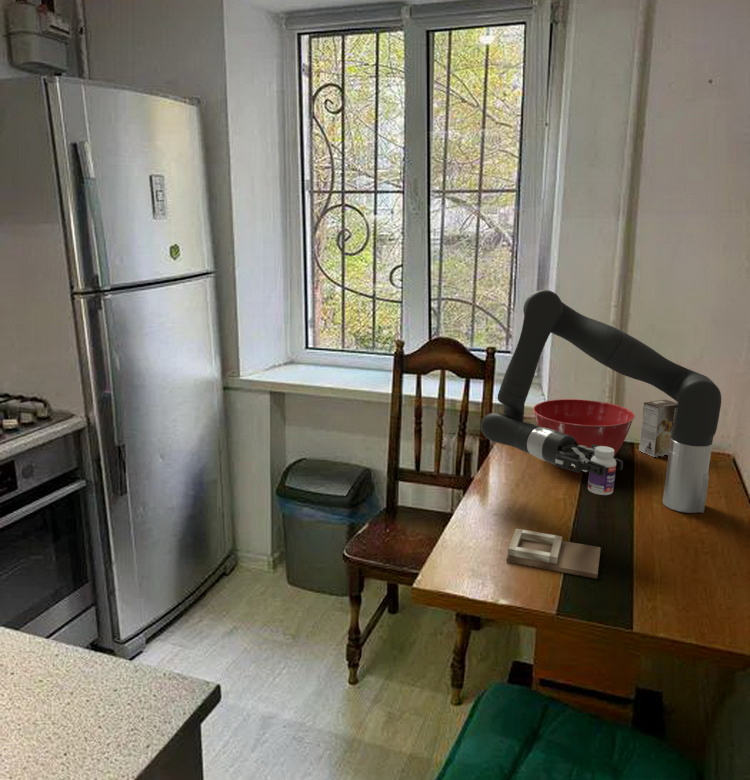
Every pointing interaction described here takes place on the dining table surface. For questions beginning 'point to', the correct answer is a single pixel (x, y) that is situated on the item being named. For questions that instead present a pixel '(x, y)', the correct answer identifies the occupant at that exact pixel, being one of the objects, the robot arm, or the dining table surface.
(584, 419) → the mixing bowl
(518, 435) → the robot arm
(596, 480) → the pill bottle
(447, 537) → the dining table surface
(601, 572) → the dining table surface
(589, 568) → the socket board
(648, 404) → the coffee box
